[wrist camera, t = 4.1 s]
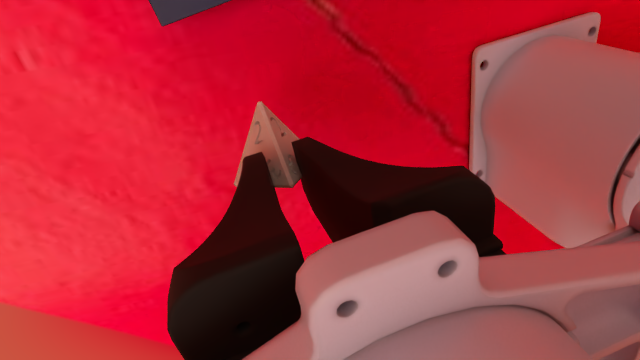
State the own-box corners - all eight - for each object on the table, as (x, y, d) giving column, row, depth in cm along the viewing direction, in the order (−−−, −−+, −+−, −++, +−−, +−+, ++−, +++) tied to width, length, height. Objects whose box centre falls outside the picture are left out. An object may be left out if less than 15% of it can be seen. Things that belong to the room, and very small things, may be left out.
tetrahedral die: (289, 182, 17) (333, 221, 15) (232, 184, 15) (274, 230, 13) (315, 107, 16) (366, 140, 14) (257, 99, 14) (307, 136, 12)
